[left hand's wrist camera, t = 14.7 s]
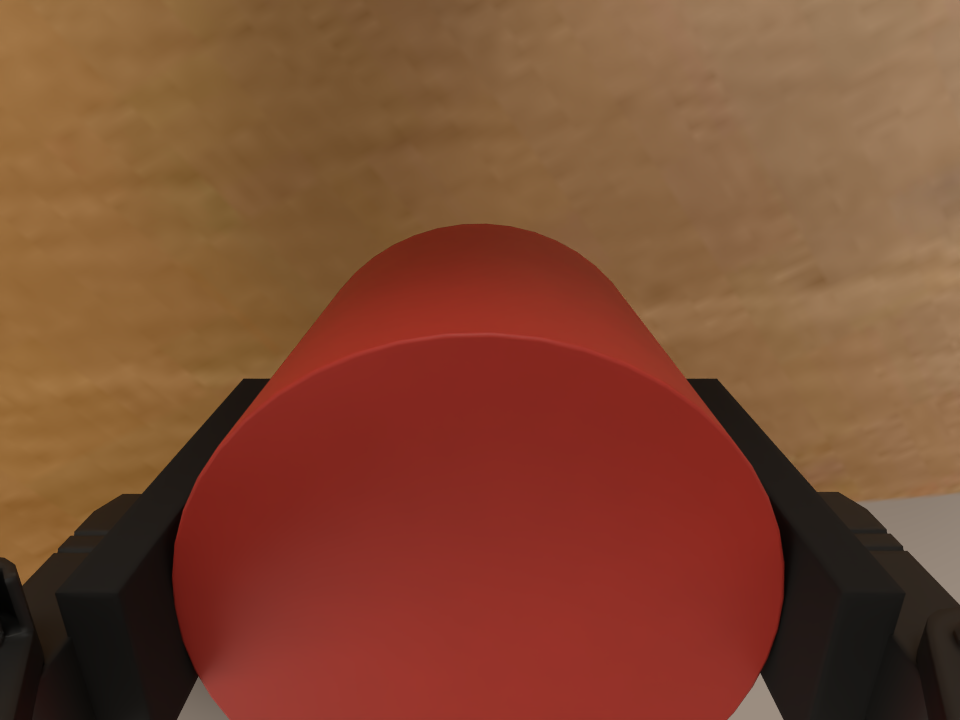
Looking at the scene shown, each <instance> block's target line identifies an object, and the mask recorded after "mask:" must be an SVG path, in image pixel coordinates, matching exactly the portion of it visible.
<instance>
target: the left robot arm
mask: <svg viewBox="0 0 960 720" xmlns="http://www.w3.org/2000/svg"><path fill="white" fill-rule="evenodd" d="M269 380H270V379H243V380H242V381H241V382H240V383H239V385H238V386H237V387H236V388H235V389H234V390H233V391H232V392H231V394H230V395H229V396H228V397H227V398H226V399H225V400H224V402H223V403H222V404H221V405H220V406H219V407H218V408H217V409H216V411H215V412H214V413H213V414H212V415H211V416H210V417H209V419H208V420H207V421H206V422H205V423H204V424H203V425H202V426H201V428H200V429H199V430H198V431H197V432H196V433H195V434H194V436H193V437H192V438H191V439H190V440H189V441H188V442H187V443H186V445H185V446H184V447H183V448H182V449H181V450H180V451H179V453H178V454H177V455H176V456H175V457H174V458H173V459H172V460H171V462H170V463H169V464H168V465H167V466H166V467H165V468H164V470H163V471H162V472H161V473H160V474H159V475H158V476H157V478H156V479H155V480H154V481H153V482H152V483H151V484H150V485H149V487H148V488H147V489H146V490H145V491H144V492H143V493H142V494H122V495H120V496H119V497H117V498H115V499H114V500H112V501H110V502H109V503H107V504H105V505H104V506H102V507H101V508H99V509H97V510H96V511H94V512H93V513H92V514H91V515H90V516H89V517H88V518H87V519H86V520H85V521H84V522H83V523H82V524H81V525H80V526H79V528H78V529H77V530H76V531H75V532H74V536H70V537H69V538H68V539H67V540H66V541H65V542H64V543H63V544H62V545H61V546H60V547H59V548H58V553H53V555H52V556H51V557H50V558H49V559H48V560H47V561H46V562H45V563H44V564H43V565H42V566H41V567H40V568H39V569H38V570H37V571H36V572H35V573H34V574H33V575H32V576H31V577H30V578H29V579H28V580H27V582H26V583H25V584H24V585H23V586H22V584H21V581H20V578H19V575H18V572H17V569H16V566H15V564H13V563H12V562H10V561H9V560H7V559H6V558H1V557H0V720H177V718H178V716H179V714H180V712H181V710H182V708H183V706H184V704H185V702H186V700H187V698H188V696H189V694H190V692H191V690H192V688H193V686H194V684H195V682H196V680H197V678H198V674H197V673H196V671H195V669H194V667H193V664H192V662H191V660H190V657H189V655H188V653H187V650H186V648H185V646H184V643H183V641H182V637H181V632H180V628H179V624H178V619H177V615H176V611H175V605H174V596H173V584H172V570H173V558H174V545H175V540H176V536H177V532H178V528H179V524H180V520H181V516H182V512H183V509H184V507H185V505H186V502H187V500H188V498H189V496H190V493H191V491H192V489H193V486H194V484H195V482H196V480H197V478H198V476H199V475H200V473H201V471H202V470H203V468H204V467H205V465H206V464H207V462H208V461H209V459H210V458H211V456H212V455H213V453H214V452H215V450H216V449H217V447H218V446H219V444H220V443H221V442H222V441H223V439H224V438H225V437H226V435H227V434H228V433H229V432H230V430H231V429H232V428H233V426H234V425H235V424H236V423H237V421H238V420H239V419H240V418H241V416H242V415H243V414H244V412H245V411H246V410H247V409H248V407H249V406H250V405H251V403H252V402H253V401H254V400H255V398H256V397H257V396H258V394H259V393H260V392H261V391H262V389H263V388H264V387H265V386H266V384H267V383H268V382H269ZM686 380H687V381H688V382H689V383H690V385H691V386H692V387H693V389H694V390H695V391H696V393H697V394H698V395H699V396H700V398H701V399H702V400H703V402H704V403H705V404H706V406H707V407H708V408H709V409H710V411H711V412H712V413H713V415H714V416H715V417H716V419H717V420H718V421H719V423H720V424H721V425H722V426H723V428H724V429H725V430H726V432H727V433H728V434H729V436H730V437H731V438H732V440H733V441H734V442H735V444H736V445H737V446H738V448H739V449H740V450H741V452H742V453H743V454H744V456H745V457H746V458H747V460H748V461H749V462H750V463H751V465H752V467H753V468H754V470H755V472H756V474H757V476H758V478H759V480H760V482H761V484H762V486H763V487H764V489H765V491H766V493H767V495H768V497H769V500H770V503H771V506H772V509H773V512H774V515H775V518H776V521H777V524H778V527H779V531H780V537H781V544H782V550H783V557H784V600H783V605H782V610H781V616H780V621H779V627H778V631H777V633H776V636H775V639H774V642H773V645H772V648H771V650H770V653H769V656H768V659H767V661H766V663H765V664H764V666H763V668H762V670H761V672H760V673H761V675H762V677H763V679H764V681H765V683H766V685H767V687H768V689H769V691H770V693H771V695H772V697H773V699H774V701H775V703H776V705H777V707H778V709H779V711H780V713H781V715H782V717H783V719H784V720H960V605H959V604H958V603H957V602H956V601H955V600H954V599H953V597H952V596H951V595H949V593H948V592H947V591H946V590H945V589H944V588H943V587H942V586H941V585H940V584H939V583H938V582H937V581H936V580H935V579H934V578H933V577H932V576H931V575H930V574H929V573H928V572H927V571H926V570H925V569H924V568H923V567H922V566H921V565H920V563H919V562H918V561H917V560H916V559H915V558H914V557H913V556H912V555H911V554H910V553H909V552H908V551H904V550H903V546H902V545H901V544H900V543H899V542H898V541H897V540H896V539H895V538H894V537H893V536H892V535H891V534H887V530H886V528H885V527H884V526H883V525H882V524H881V523H880V522H879V521H878V520H877V519H876V518H875V517H874V516H873V515H872V514H871V513H870V512H869V511H868V510H867V509H866V508H864V507H862V506H861V505H859V504H857V503H856V502H854V501H852V500H851V499H849V498H847V497H846V496H844V495H842V494H841V493H839V492H816V491H815V489H814V488H813V487H812V486H811V485H810V484H809V483H808V482H807V480H806V479H805V478H804V477H803V476H802V475H801V474H800V472H799V471H798V470H797V469H796V468H795V467H794V466H793V465H792V463H791V462H790V461H789V460H788V459H787V458H786V457H785V455H784V454H783V453H782V452H781V451H780V450H779V449H778V448H777V446H776V445H775V444H774V443H773V442H772V441H771V440H770V438H769V437H768V436H767V435H766V434H765V433H764V432H763V431H762V429H761V428H760V427H759V426H758V425H757V424H756V423H755V421H754V420H753V419H752V418H751V417H750V416H749V415H748V413H747V412H746V411H745V410H744V409H743V408H742V407H741V406H740V404H739V403H738V402H737V401H736V400H735V399H734V398H733V396H732V395H731V394H730V393H729V392H728V391H727V390H726V389H725V387H724V386H723V385H722V384H721V383H720V382H719V381H718V379H686Z"/></svg>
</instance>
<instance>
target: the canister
mask: <svg viewBox="0 0 960 720" xmlns="http://www.w3.org/2000/svg"><path fill="white" fill-rule="evenodd" d="M172 584H173V596H174V605H175V611H176V615H177V619H178V624H179V628H180V632H181V637H182V641H183V643H184V646H185V648H186V650H187V653H188V655H189V657H190V660H191V662H192V664H193V667H194V669H195V671H196V673H197V674H198V676H199V678H200V679H201V681H202V682H203V684H204V686H205V687H206V689H207V691H208V692H209V694H210V696H211V697H212V698H213V700H214V701H215V702H216V703H217V705H218V706H219V707H220V708H221V710H222V711H223V712H224V713H225V715H226V716H227V717H228V718H229V720H727V719H728V718H729V717H730V716H731V715H732V714H733V713H734V712H735V710H736V709H737V708H738V706H739V705H740V703H741V702H742V701H743V699H744V698H745V697H746V695H747V694H748V692H749V691H750V690H751V688H752V687H753V685H754V683H755V681H756V680H757V678H758V676H759V674H760V672H761V670H762V668H763V666H764V664H765V663H766V661H767V659H768V656H769V653H770V650H771V648H772V645H773V642H774V639H775V636H776V633H777V631H778V627H779V621H780V616H781V610H782V605H783V600H784V557H783V550H782V544H781V537H780V531H779V527H778V524H777V521H776V518H775V515H774V512H773V509H772V506H771V503H770V500H769V497H768V495H767V493H766V491H765V489H764V487H763V486H762V484H761V482H760V480H759V478H758V476H757V474H756V472H755V470H754V468H753V467H752V465H751V463H750V462H749V461H748V460H747V458H746V457H745V456H744V454H743V453H742V452H741V450H740V449H739V448H738V446H737V445H736V444H735V442H734V441H733V440H732V438H731V437H730V436H729V434H728V433H727V432H726V430H725V429H724V428H723V426H722V425H721V424H720V423H719V421H718V420H717V419H716V417H715V416H714V415H713V413H712V412H711V411H710V409H709V408H708V407H707V406H706V404H705V403H704V402H703V400H702V399H701V398H700V396H699V395H698V394H697V393H696V391H695V390H694V389H693V387H692V386H691V385H690V383H689V382H688V381H687V380H686V378H685V377H684V376H683V374H682V373H681V372H680V370H679V369H678V368H677V367H676V365H675V364H674V363H673V361H672V360H671V359H670V357H669V356H668V355H667V353H666V352H665V351H664V350H663V348H662V347H661V346H660V344H659V343H658V342H657V340H656V339H655V338H654V337H653V335H652V334H651V333H650V331H649V330H648V329H647V327H646V326H645V325H644V324H643V322H642V321H641V320H640V318H639V317H638V316H637V314H636V313H635V312H634V310H633V309H632V308H631V307H630V305H629V304H628V303H627V301H626V300H625V299H624V297H623V296H622V295H621V294H620V292H619V291H618V290H617V288H616V287H615V286H614V284H613V283H612V282H611V281H610V280H609V279H608V278H607V277H606V276H605V275H604V274H603V273H602V272H601V271H600V270H599V269H598V268H597V267H596V266H595V265H593V264H592V263H591V262H589V261H588V260H587V259H585V258H584V257H583V256H581V255H580V254H579V253H577V252H576V251H574V250H572V249H570V248H569V247H567V246H565V245H563V244H561V243H560V242H558V241H556V240H553V239H551V238H548V237H545V236H543V235H540V234H538V233H535V232H532V231H528V230H523V229H519V228H515V227H511V226H502V225H493V224H462V225H456V226H449V227H443V228H437V229H434V230H431V231H427V232H424V233H421V234H417V235H414V236H412V237H410V238H408V239H406V240H403V241H401V242H399V243H397V244H394V245H393V246H391V247H389V248H388V249H386V250H385V251H383V252H381V253H380V254H378V255H377V256H375V257H373V258H372V259H371V260H370V261H369V262H368V263H366V264H365V265H364V266H363V267H362V268H360V269H359V270H358V271H357V272H356V273H355V274H354V275H353V276H352V277H351V278H350V279H349V281H348V282H347V283H346V284H345V285H344V286H343V287H342V288H341V290H340V291H339V292H338V293H337V295H336V296H335V297H334V298H333V300H332V301H331V302H330V304H329V305H328V306H327V307H326V309H325V310H324V311H323V313H322V314H321V315H320V316H319V318H318V319H317V320H316V322H315V323H314V324H313V325H312V327H311V328H310V329H309V330H308V332H307V333H306V334H305V336H304V337H303V338H302V339H301V341H300V342H299V343H298V345H297V346H296V347H295V348H294V350H293V351H292V352H291V354H290V355H289V356H288V357H287V359H286V360H285V361H284V362H283V364H282V365H281V366H280V368H279V369H278V370H277V371H276V373H275V374H274V375H273V377H272V378H271V379H270V380H269V382H268V383H267V384H266V386H265V387H264V388H263V389H262V391H261V392H260V393H259V394H258V396H257V397H256V398H255V400H254V401H253V402H252V403H251V405H250V406H249V407H248V409H247V410H246V411H245V412H244V414H243V415H242V416H241V418H240V419H239V420H238V421H237V423H236V424H235V425H234V426H233V428H232V429H231V430H230V432H229V433H228V434H227V435H226V437H225V438H224V439H223V441H222V442H221V443H220V444H219V446H218V447H217V449H216V450H215V452H214V453H213V455H212V456H211V458H210V459H209V461H208V462H207V464H206V465H205V467H204V468H203V470H202V471H201V473H200V475H199V476H198V478H197V480H196V482H195V484H194V486H193V489H192V491H191V493H190V496H189V498H188V500H187V502H186V505H185V507H184V509H183V512H182V516H181V520H180V524H179V528H178V532H177V536H176V540H175V545H174V558H173V570H172Z"/></svg>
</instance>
